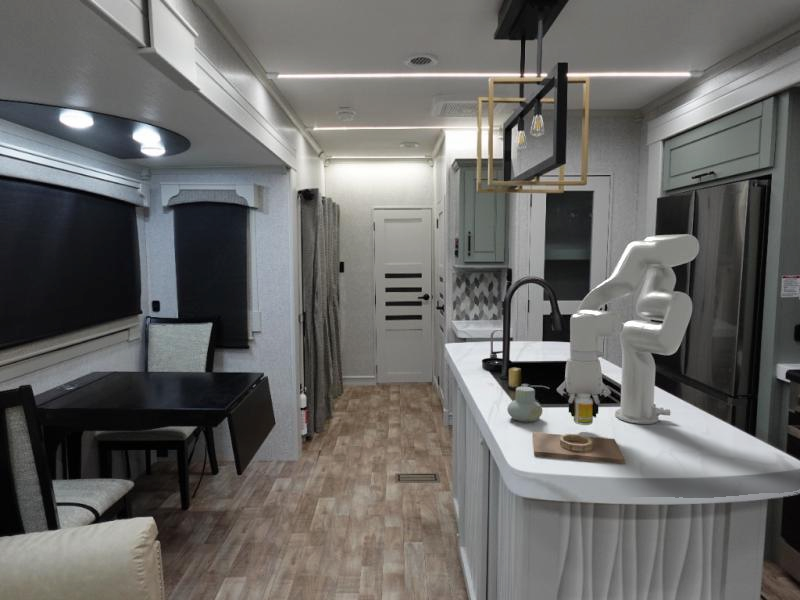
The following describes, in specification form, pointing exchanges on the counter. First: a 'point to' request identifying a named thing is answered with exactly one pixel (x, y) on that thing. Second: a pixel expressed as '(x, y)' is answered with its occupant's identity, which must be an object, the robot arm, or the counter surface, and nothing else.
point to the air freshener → (525, 405)
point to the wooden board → (577, 447)
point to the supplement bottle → (583, 409)
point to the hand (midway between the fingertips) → (583, 414)
